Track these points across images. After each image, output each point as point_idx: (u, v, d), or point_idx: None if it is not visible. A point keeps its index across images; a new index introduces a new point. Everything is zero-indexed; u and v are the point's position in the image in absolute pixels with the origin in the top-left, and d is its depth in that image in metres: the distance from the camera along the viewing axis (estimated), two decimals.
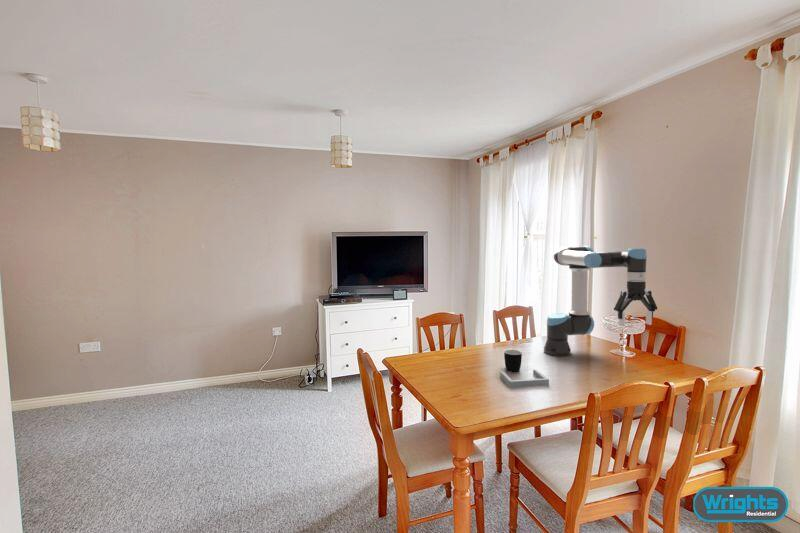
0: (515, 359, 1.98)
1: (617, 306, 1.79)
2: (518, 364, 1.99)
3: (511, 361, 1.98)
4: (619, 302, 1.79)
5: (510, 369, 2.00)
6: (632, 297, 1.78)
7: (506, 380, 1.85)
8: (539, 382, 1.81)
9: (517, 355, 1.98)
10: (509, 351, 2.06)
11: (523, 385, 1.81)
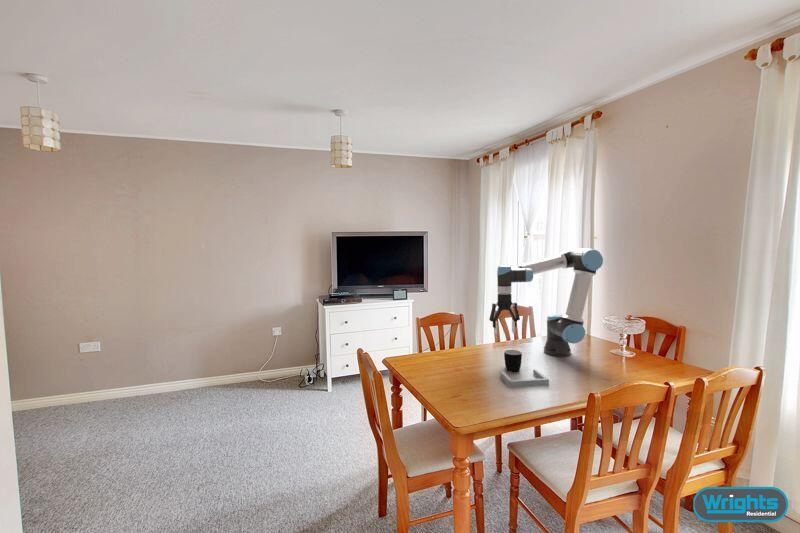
0: (515, 359, 1.98)
1: (490, 317, 2.11)
2: (518, 364, 1.99)
3: (511, 361, 1.98)
4: (491, 313, 2.11)
5: (510, 369, 2.00)
6: (500, 308, 2.10)
7: (506, 380, 1.85)
8: (539, 382, 1.81)
9: (517, 355, 1.98)
10: (509, 351, 2.06)
11: (523, 385, 1.81)
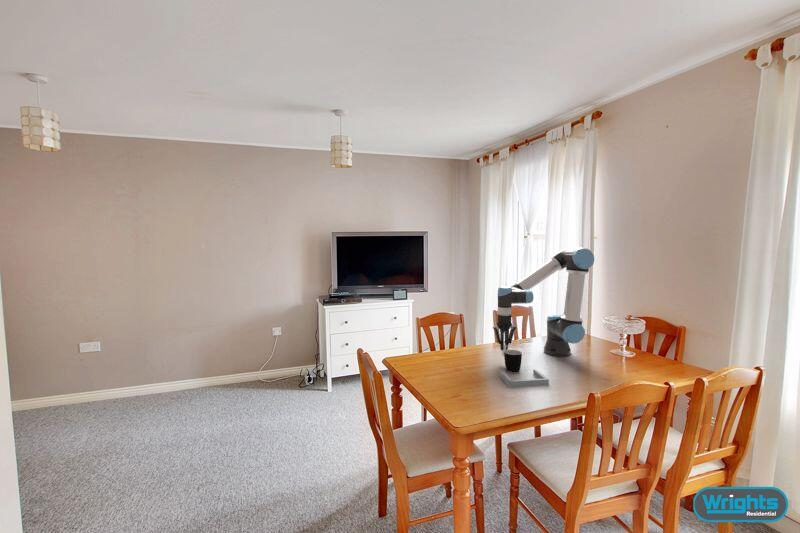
0: (515, 359, 1.98)
1: (497, 340, 2.12)
2: (518, 364, 1.99)
3: (511, 361, 1.98)
4: (496, 336, 2.12)
5: (510, 369, 2.00)
6: (502, 329, 2.11)
7: (506, 380, 1.85)
8: (539, 382, 1.81)
9: (517, 355, 1.98)
10: (509, 351, 2.06)
11: (523, 385, 1.81)
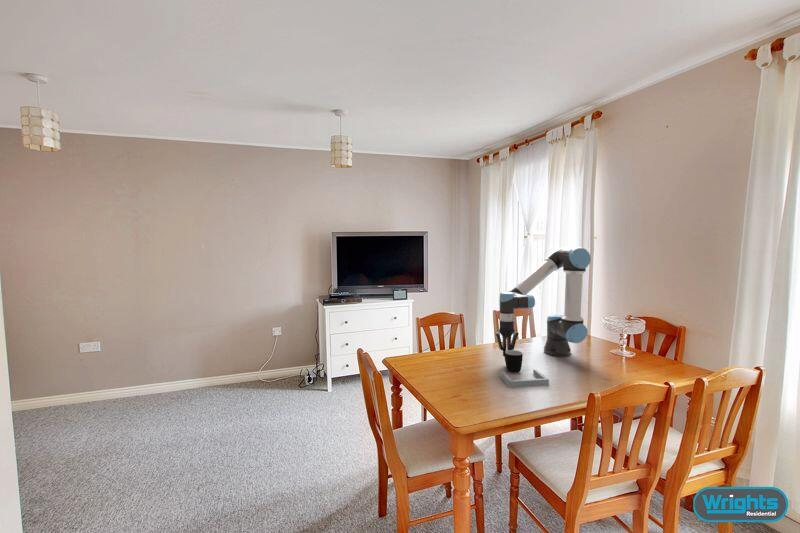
0: (516, 360, 1.97)
1: (499, 346, 2.09)
2: (519, 364, 1.98)
3: (512, 362, 1.97)
4: (498, 343, 2.09)
5: (511, 370, 1.99)
6: (504, 336, 2.07)
7: (506, 380, 1.85)
8: (539, 382, 1.81)
9: (518, 355, 1.97)
10: (509, 351, 2.05)
11: (523, 385, 1.81)
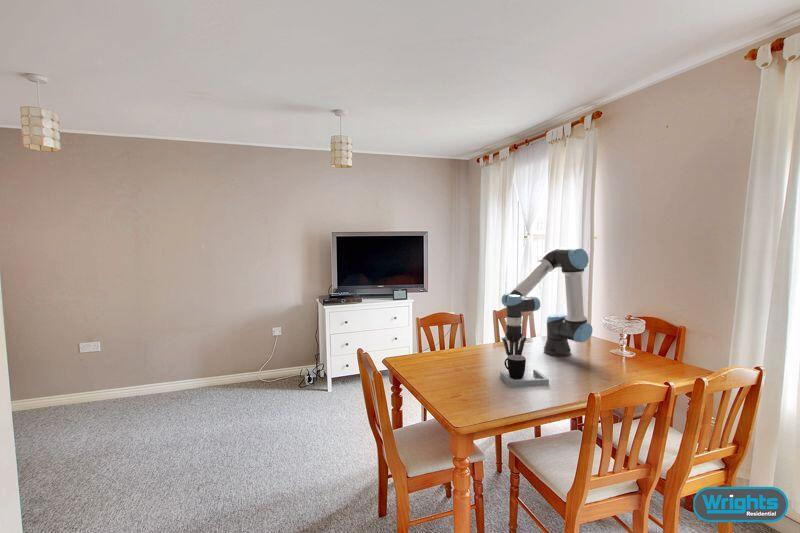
0: (522, 365, 1.89)
1: (506, 352, 1.98)
2: (523, 369, 1.90)
3: (518, 367, 1.89)
4: (505, 348, 1.98)
5: (516, 375, 1.90)
6: (511, 341, 1.97)
7: (506, 380, 1.85)
8: (539, 382, 1.81)
9: (523, 360, 1.89)
10: (510, 356, 1.97)
11: (523, 385, 1.81)
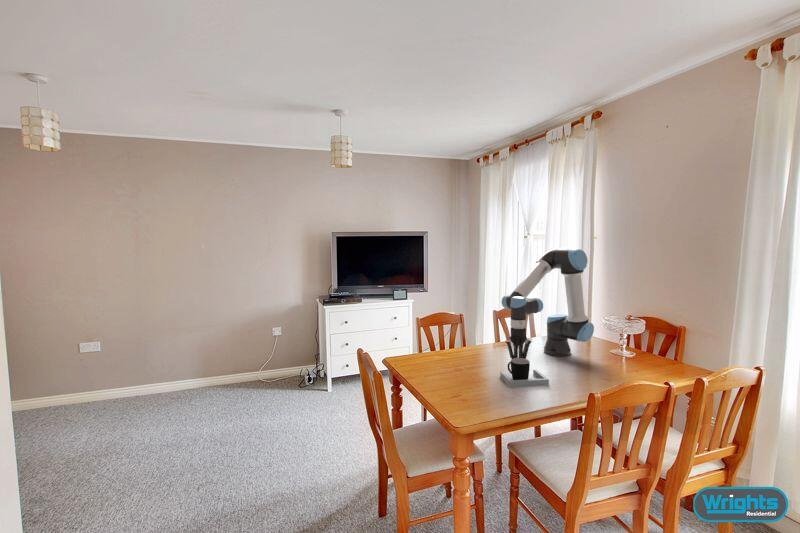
0: (525, 368, 1.84)
1: (510, 355, 1.93)
2: (527, 373, 1.85)
3: (521, 371, 1.84)
4: (509, 351, 1.93)
5: None
6: (516, 344, 1.91)
7: (506, 380, 1.85)
8: (539, 382, 1.81)
9: (527, 364, 1.84)
10: (514, 360, 1.91)
11: (523, 385, 1.81)
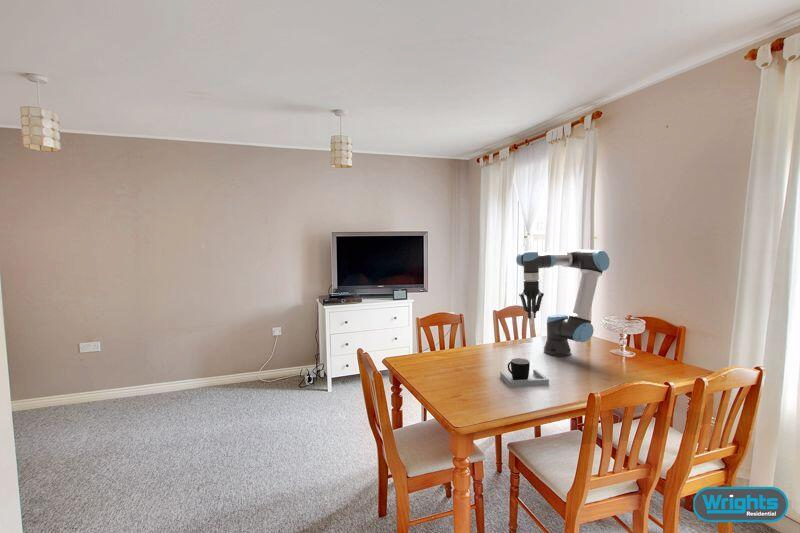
0: (525, 368, 1.84)
1: (524, 308, 2.00)
2: (527, 373, 1.85)
3: (521, 371, 1.84)
4: (523, 304, 2.00)
5: None
6: (529, 296, 1.99)
7: (506, 380, 1.85)
8: (539, 382, 1.81)
9: (527, 364, 1.84)
10: (514, 360, 1.91)
11: (523, 385, 1.81)
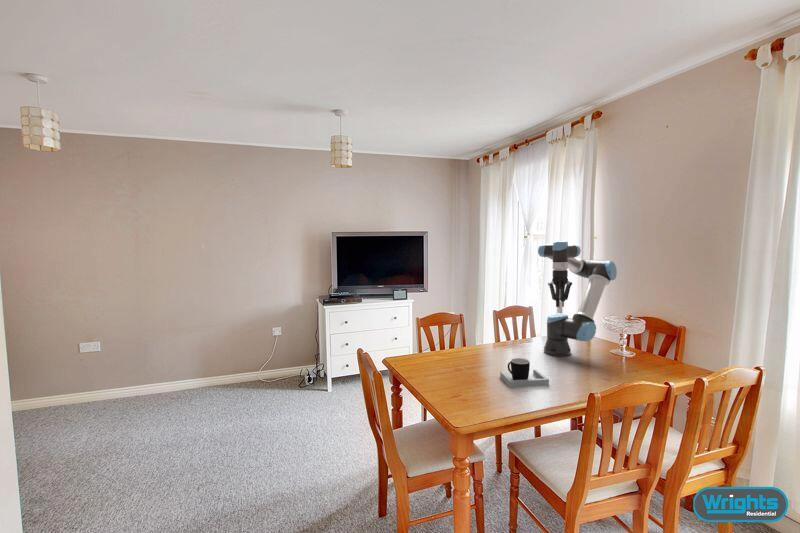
0: (525, 368, 1.84)
1: (553, 296, 2.05)
2: (527, 373, 1.85)
3: (521, 371, 1.84)
4: (552, 293, 2.04)
5: None
6: (558, 285, 2.03)
7: (506, 380, 1.85)
8: (539, 382, 1.81)
9: (527, 364, 1.84)
10: (514, 360, 1.91)
11: (523, 385, 1.81)
